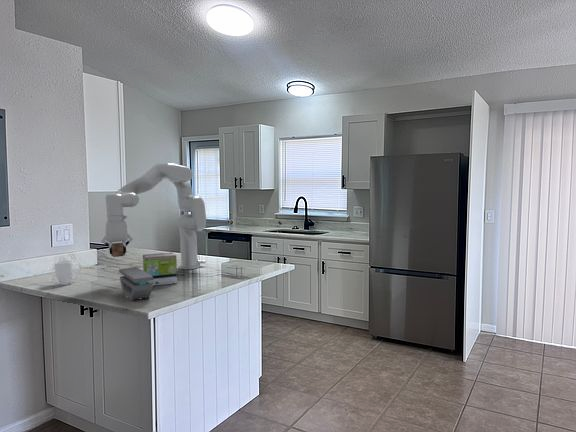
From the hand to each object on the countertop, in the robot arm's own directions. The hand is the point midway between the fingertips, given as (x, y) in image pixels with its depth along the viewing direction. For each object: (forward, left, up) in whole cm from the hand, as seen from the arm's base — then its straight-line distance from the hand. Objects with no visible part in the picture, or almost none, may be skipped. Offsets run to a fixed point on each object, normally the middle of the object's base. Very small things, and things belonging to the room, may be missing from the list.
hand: (118, 254), depth 220 cm
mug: (+25, -12, -15) cm, 31 cm away
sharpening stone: (-8, +26, -16) cm, 32 cm away
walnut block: (0, 0, -1) cm, 1 cm away
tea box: (-19, +4, -16) cm, 25 cm away
